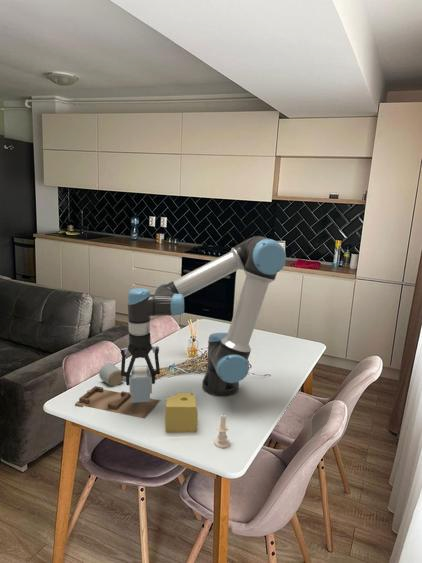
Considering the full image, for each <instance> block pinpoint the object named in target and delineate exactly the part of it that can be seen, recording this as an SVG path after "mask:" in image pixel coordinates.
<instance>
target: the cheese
mask: <svg viewBox="0 0 422 563" xmlns="http://www.w3.org/2000/svg"><path fill="white" fill-rule="evenodd" d="M165 401H166V402H165V403H166V404H165V414H164V424H165V425H164V428H165V432H166V433H188V432H189V433H196V431H197V427H198V421H199V420H198V418H199V417H198V416H199V415H198V414H199V413H198V407H197V401H196V393H195V392H193V393H192V392H177V393H174V395H173V396H168V397H166V400H165Z"/></svg>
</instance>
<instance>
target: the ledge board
mask: <svg viewBox="0 0 422 563" xmlns="http://www.w3.org/2000/svg"><path fill="white" fill-rule="evenodd" d="M160 402H161V399H155V398H152V397H150V402H136V403H131V395H130V391H129V392H127V391H123V390H122V391H121V392H118V391H113V390H107V389H105V388H104V387H103V386H102V387H101V386H98V385H97V386H96V385H95V386H94V387H92V388H91V389H88V390H86V392H85V393H84V394H83V395H82V396H80V397H79V398H78V401H76V402H75V403H74V406H75V407H79V408H80V407H81V408H83V407H85V408H86V407H88V408H92V409H95V410H101V411H107V412H111V413H116V414H120V415H126V416H130V417H134V418H135V417H136V418H140V419H146V418H147V417H148V416H149V414H150V413H151V412H152V411H153V410H154V409H155V408H156V407H157V406H158V404H159V403H160Z"/></svg>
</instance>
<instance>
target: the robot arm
mask: <svg viewBox="0 0 422 563" xmlns="http://www.w3.org/2000/svg"><path fill="white" fill-rule="evenodd" d="M286 262H287V253H286V251H285V248H284V247H283V246H282V245H281V243H279V242H278V241H277V240H274V239H271V238H267V237H265V236H263V235H257V236H256V235H255V236H253V237H250V238H248V239H246V240H244V241H243V242H241V243H239V244H237V245H235V246H233V247H231V250H230V251H229V252H227V253H225V254H223V255H222V256H219V257H217V258H216V259H213V260H211V261H209V262H208V263H206V264H204V265H202V266H200V267H197V268H195V269H194V270H192V271H190V272H188V273H186V274H185V275H182V276H180V277H178V278H176V279H174V280H173V281H170V282H169V283H163V284H159V285H158V286H157V287H156V288H155V292H154V294H151V293H150V289H148V288H143V287H138V288H132V289H130V290H129V291H128V293H127V311H128V312H127V315H128V316H127V317H128V320H127V321H128V332H129V333H128V342H129V343H128V346H127V347H121V348H120V354H121V366H120V367H121V368H120V370H121V376H125V377H126V382H125V385H126V386H129V393H130V395H131V371H132V367H133V366H134V364H135V361H136V359H140V358H141V359H144V360H145V362H146V366H148V367H149V370H150V395H151V394H153V385H155V383H156V376H158V375H160V374H161V370H160V369H161V368H160V359H159V353H160V352H159V351H160V347H159V346H153V345H152V344H151V342H152V341H151V317H161V316H162V317H163V316H165V317H167V316H173V317H175V316H180V315H183V314H184V312H185V297H187V296H190V295H191V294H193V293H196V292H198V291H199V290H202V289H203V288H205V287H207V286H209V285H211V284H213V283H215V282H217V281H219V280H221V279H223V278H225V277H226V276H229V275H230V274H232V273H235V272H237V271H239V270H241V271H243V272H244V274H245V279H244V282H243V286H242V288H241V291H240V295H239V298H238V301H237V303H236V307H235V310H234V313H233V316H232V319H231V323H230V325H229V328H228V332H213V333H211V334H210V335H209V337H208V341H207V343H208V344H207V345H208V346H207V365H206V367H207V368H206V371H205V374H204V376H203V379H202V381H201V382H202V386H201V387H202V389H203V391H204V392H205V393H207V394H210V395H213V396H216V397H217V396H220V397H224V396H225V397H226V396H231V395H235V394H236V393H238V392H239V389H240V382H241V381H243V380H244V379H246V377H247V375H248V373H249V371H250V364H249V357H250V355H251V350H252V348H251V346H250V341H251V338H252V336H253V332H254V329H255V326H256V323H257V322H258V318H259V315H260V311H261V309H262V306H263V303H264V300H265V296H266V293H267V290H268V287H269V286H270V284H271V283H272V282H274V281H275V280H276V277H277V274H278V273H279V272H281V271H282V269H283V268H284V267H285V265H286ZM151 351H152V353H153V354H154V361H155V362H154V363H155V369H154V366H153V363H152V360H151V358H150V356H149V354H150V353H151ZM128 352H129V354H131V358H130V361H129V365H128V366H127V369H126V356H127V355H128ZM125 370H126V371H125Z"/></svg>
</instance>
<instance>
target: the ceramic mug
mask: <svg viewBox="0 0 422 563" xmlns="http://www.w3.org/2000/svg"><path fill="white" fill-rule="evenodd" d="M98 374H99V378H100V380H102V381H103V382H104V383H106V384H108V385H109V386H110V387H116V386H120V384H122V382H125V383H126V377H125V376H121V368H119V367H117V366H116V365H115V364H113V363H110V362H108V363H105V364H104V365H102V366H101V367H100V369H99V372H98Z"/></svg>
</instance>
